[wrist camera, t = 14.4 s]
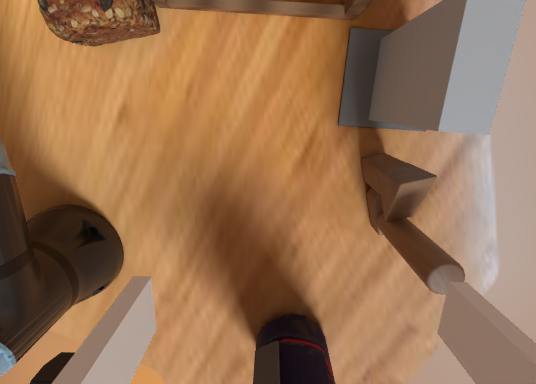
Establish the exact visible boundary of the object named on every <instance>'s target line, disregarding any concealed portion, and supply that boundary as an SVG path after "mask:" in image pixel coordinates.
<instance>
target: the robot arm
mask: <svg viewBox="0 0 536 384" xmlns="http://www.w3.org/2000/svg"><path fill="white" fill-rule="evenodd" d="M15 176H17V175H16V172H15V171H14V170H12V167H11V164H10V160H9V157H8V154H7V151H6V148H5V145H4V143H3V142H2V141H1V139H0V377H1V376H2V375H3V374H4V373H5V372H8V371H9V370H10V369H11V368H12V367H13V366H14V365H15V364H16V363H17V362H18V361H19V360H20V358H22V357H23V355H24V354H25V353H26V352H27V351H28V350H29V349H30V348H31V347H32V346H33V345H34V344H35V343H36V342H37V341H38V340H39V339H40V338H41V337H42V336H43V335H44V334H45V333H46V332H47V331H48V330H49V329H50V328H51V327H52V326H53V325H54V324H55V323H56V322H57V321H58V320H59V319H60V318H61V317H62V316H63V315H64V313H65V312H66V311H67V310H69V309H70V308H71V307H72V306H73V305H75V304H77V303H79V302H82V301H84V300H86V299H88V298H90V297H92V296H94V295H96V294H98V293H100V292H101V291H103V290H104V289H106V288H107V287H108V286H109V285H110V284H111V283H112V282H113V280H114V279H115V278H116V277H117V276H118V274H119V273H120V271H121V268H122V265H123V260H124V252H123V246H122V243H121V240H120V238H119V236H118V234H117V233H116V231H115V230H114V228H113V227H112V226H111V225H110V224H109V223H108V222H107V221H106V220H105V219H104V218H103V217H101V216H100V215H98V214H97V213H95V212H93V211H91V210H89V209H86V208H83V207H80V206H75V205H60V206H55V207H52V208H49V209H47V210H45V211H43V212H41V213H39V214H37V215H35V216H34V217H32V218H31V219H30V220H29V221H28V222H27V223H26V219H25V215H24V211H23V207H22V203H21V199H20V195H19V191H18V187H17V183H16V179H15ZM155 331H156V321H155V311H154V300H153V290H152V279H151V277H136V276H134V277H133V278H132V279H131V280H130V282H129V283H128V284H127V286H126V287H125V288H124V290H123V291H122V292H121V294H120V295H119V296H118V297H117V299H116V300H115V301H114V303H113V304H112V305H111V307H110V308H109V309H108V311H107V312H106V313H105V315H104V316H103V317H102V318H101V320H100V321H99V322H98V324H97V325H96V326H95V328H94V329H93V330H92V332H91V333H90V334H89V335H88V337H87V338H86V339H85V341H84V342H83V343H82V345H81V346H80V348H79V349H78V350H77V351H76V353H65V352H61V353H60V354H58V355H57V356H56V357H54V358H53V359H52V360H50V361H49V362H48V363H46V364H45V365H44V366H43V367H42V368H41V369H40V371H39V372H38V373H37V374H36V375H35V377H34V378H33V379H32V380H31V382H30V384H130V383H131V381H132V379H133V377H134V374H135V372H136V370H137V368H138V366H139V364H140V362H141V360H142V358H143V356H144V354H145V352H146V350H147V347H148V345H149V343H150V341H151V339H152V337H153V335H154V333H155ZM438 335H439V336H440V337H441V338H442V340H443V341H444V342H445V344H446V345H447V346H448V348H449V349H450V350H451V352H452V353H453V354H454V356H455V357H456V358H457V360H458V361H459V362H460V364H461V365H462V366H463V367H464V369H465V370H466V371H467V373H468V374H469V375H470V377H471V378H472V379H473V381H474V382H475V383H476V384H536V343H535V342H534V341H533V340H532V339H530V338H529V337H528V336H527V335H526V334H525V333H523V332H522V331H521V330H520V329H519V328H518V327H516V326H515V325H514V324H513V323H512V322H511V321H510V320H509V319H508V318H506V317H505V316H504V315H503V314H502V313H501V312H500V311H498V310H497V309H496V308H495V307H494V306H493V305H492V304H490V303H489V302H488V301H487V300H486V299H485V298H484V297H482V296H481V295H480V294H479V293H478V292H477V291H476V290H475V289H473V288H472V287H471V286H470V285H469V284H468V283H467V282H449V285H448V289H447V294H446V298H445V303H444V307H443V311H442V316H441V320H440V324H439V329H438Z"/></svg>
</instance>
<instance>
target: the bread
mask: <svg viewBox="0 0 536 384" xmlns="http://www.w3.org/2000/svg"><path fill="white" fill-rule="evenodd" d="M38 3H39V7H40V11H41V13H42V15H43V17H44V20H45V22H46V24H47V26H48V27H49V29H50V30H51V31H52V32H53V33H54V34H55V35H56V36H57V37H59V38H61V39H63V40H65V41H69V42H72V43H76V44H77V45H85V46H87V45H89V46H98V45H102V44H106V43H107V44H108V43H115V42H118V41H123V40H127V39H132V38H140V37H145V36H149V35H154V34H157V33H160V25H159V21H158V17H157V13H156V9H155V5H154V2H152V1H151V0H38Z"/></svg>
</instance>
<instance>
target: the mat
mask: <svg viewBox="0 0 536 384" xmlns="http://www.w3.org/2000/svg"><path fill="white" fill-rule="evenodd" d="M391 32H393V31H390V30H374V29H359V28H351V29H350V35H349V43H348V51H347V59H346V67H345V75H344V83H343V90H342V98H341V106H340V114H339V122H338V125H342V126H357V127H372V128H387V129H402V130H417V131H426V129H422V128H415V127H409V126H403V125H397V124H391V123H384V122H378V121H372V120H369V113H370V107H371V100H372V94H373V87H374V81H375V74H376V68H377V62H378V55H379V49H380V42H381V39H382V38H383V37H385V36H387V35H388V34H390V33H391Z"/></svg>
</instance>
